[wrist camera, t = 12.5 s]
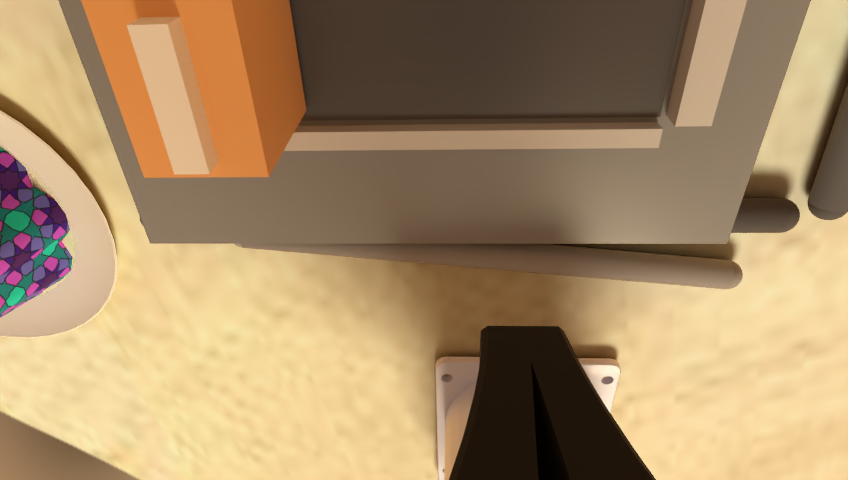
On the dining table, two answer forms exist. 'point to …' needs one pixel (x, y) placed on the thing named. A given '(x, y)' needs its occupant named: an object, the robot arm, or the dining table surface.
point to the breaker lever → (202, 82)
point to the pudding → (48, 241)
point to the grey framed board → (494, 124)
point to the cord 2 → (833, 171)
